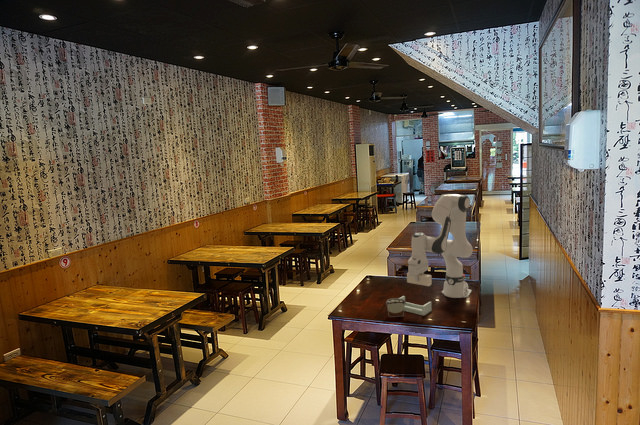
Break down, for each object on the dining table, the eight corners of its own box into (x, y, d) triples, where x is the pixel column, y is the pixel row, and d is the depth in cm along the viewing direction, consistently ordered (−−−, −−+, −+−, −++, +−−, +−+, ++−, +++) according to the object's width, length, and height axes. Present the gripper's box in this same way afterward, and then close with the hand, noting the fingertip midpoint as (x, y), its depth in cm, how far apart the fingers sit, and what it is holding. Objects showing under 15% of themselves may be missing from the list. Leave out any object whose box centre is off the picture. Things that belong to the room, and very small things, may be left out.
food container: (403, 312, 272) (403, 297, 271) (406, 316, 266) (405, 300, 265) (384, 313, 272) (384, 298, 271) (386, 317, 266) (386, 301, 265)
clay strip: (410, 280, 276) (409, 271, 275) (431, 284, 267) (431, 275, 266) (407, 282, 273) (406, 273, 272) (428, 286, 264) (428, 276, 263)
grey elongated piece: (403, 304, 287) (403, 295, 286) (431, 310, 273) (431, 301, 272) (395, 308, 279) (395, 299, 279) (423, 315, 266) (423, 306, 265)
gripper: (421, 254, 278) (422, 275, 280) (406, 261, 262) (406, 283, 264) (430, 255, 273) (431, 276, 275) (415, 263, 258) (415, 285, 260)
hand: (419, 280), depth 270 cm, fingers closed on clay strip, 4 cm apart
